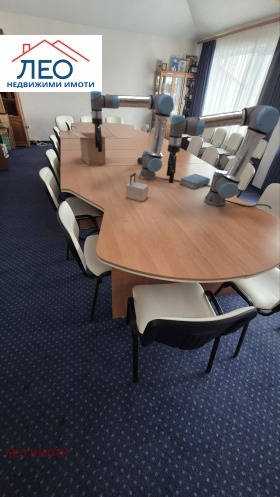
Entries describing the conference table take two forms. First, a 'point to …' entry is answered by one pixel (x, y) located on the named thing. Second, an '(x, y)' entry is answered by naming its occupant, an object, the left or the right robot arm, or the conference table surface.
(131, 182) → the lid
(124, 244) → the conference table surface
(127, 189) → the chest
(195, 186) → the book
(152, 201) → the conference table surface
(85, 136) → the box
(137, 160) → the laser sight
